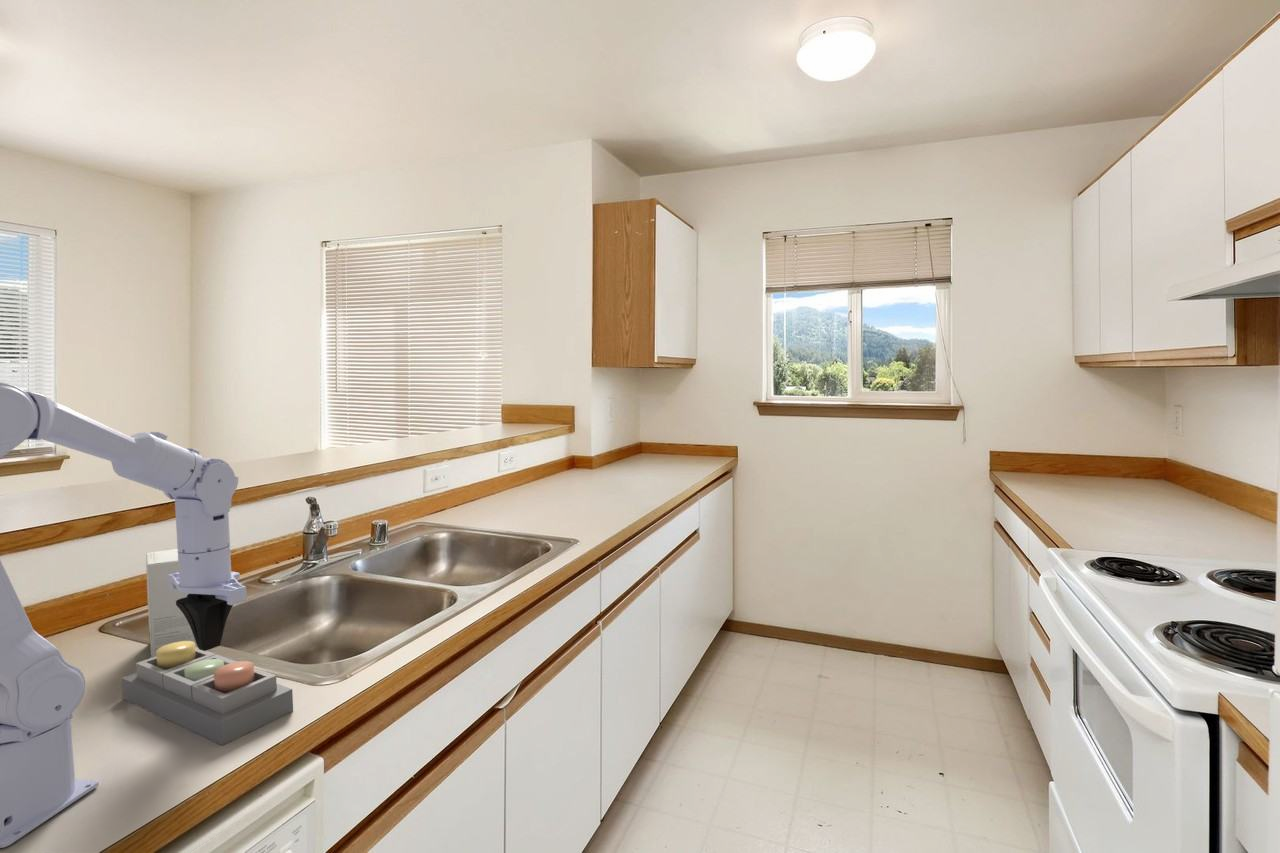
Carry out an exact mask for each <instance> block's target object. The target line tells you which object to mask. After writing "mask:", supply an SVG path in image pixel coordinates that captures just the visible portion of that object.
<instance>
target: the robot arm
mask: <svg viewBox="0 0 1280 853" xmlns="http://www.w3.org/2000/svg"><path fill="white" fill-rule="evenodd" d="M168 437H169V436H168V435H167V434H165V433H163V432H160V431H150V432H146V431H145V432H144V431H142V432H138V433H134V434H132V435H131V434H130V435H127V434H124V433H123V432H121V431H118V430H116V429H114V428H111V427H110V426H107V425H105V424H103V423H101V422H99V421H97V420H95V419H93V418H91V417H88V416H86V415H84V414H82V413H80V412H77V411H75V410H73V409H71V408H70V407H67V406H64V405H62V404H60V403H58V402H56V401H55V400H52V399H50V398H49V397H47V396H46V395H44V394H41V393H36V392H32V391H25V390H24V389H22V388H20V387H18V386H16V385H14V384H11V383H7V382H2V381H0V459H1V458H2V457H5V456H6V455H7V454H8V453H10V452H12V450H14V449H15V448H17V447H19V446H20V445H21V444H22V443H24V442H25V441H26V440H28V441H29V440H33V441H38V440H39V441H40V440H42V441H46V442H49V443H53V444H55V445H58V446H62V447H66V448H69V449H71V450H75V451H78V452H81V453H85V454H87V455H89V456H94V457H97V458H100V459H103V460H106V461H109V462H110V463H111V467H112V470H113V472H114V473H115V474H116V476H119V477H121V478H124V479H127V480H129V481H132V482H135V483H137V484H141V485H144V486H147V487H150V488H152V489H155V490H159V491H161V492H163V494H164V495H165V496H166V497H167V498H168V499H169V500H174V510H175V527H176V528H175V529H176V530H175V531H176V545H177V548H176V549H178V567H179V572H178V573H173V574H169V575H168V582H169V588H170V589H177V590H178V591H179V592H181V593H186V594H189V595H187V597H185V598H181V599H179V600H177V601H176V606H177V607H178V608H179V609H180V610H181V611H182V613H183V614H184V616H185V617H186V619H187V621H188V623H189V625H190V627H191V630H192V633H193V635H194V638H195V641H196V644H197V646H198V648H199V649H200V650H202V651H209V650H212V649H215V648H217V647H220V646H221V643H222V640H223V634H224V631H225V626H226V623H227V620H228V617H229V615H230V613H231V610H232V608H233V606H235V605H237V604H240V603H244V602H246V601H248V597H247V593H248V592H247V586H246V585H242V584H241V583H240V582H239V581H238V579H240V578H241V574H240V572H238V571H237V572H236V571H232V560H231V558H232V557H231V540H230V538H231V537H230V520H229V518H230V517H229V515H230V514H229V512H230V511H231V510H230V509H231V508H232V499H233V495H235V494H234V493H235V492H236V490H237V488H238V485H239V476H236V474H235V472H234V469H233V468H232V467H231V466H230V464H229V463H228V462H227V461H225V460H224V459H220V458H207V457H205V458H204V457H203V456H202V455H201V454H200V453H201V452H200V450H199V449H196V448H193V447H187V448H185V447H182V446H180V445H177V444H176V443H173V442H172V441H171V442H170V441H168V440H167V439H168ZM10 579H11V578H10V577H9V575H8V573H7V571H6V569H5V567H4V564H3V562H2V560H1V559H0V849H1V848H3V849H4V848H6V847H9V846H11V845H12V844H14V843H15V842H16V841H18V840H19V839H21V838H22V837H24V836H26V835H27V834H29V832H31V831H34V829H36V828H37V827H39V826H41V825H42V824H43V823H45V822H46V821H48V820H49V819H50V818H53V817H54V816H55V815H57V814H58V813H59V812H61V811H63V810H64V809H66V808H68V807H69V806H70V805H72V804H73V803H75V802H76V801H78V800H79V799H80V798H82V797H83V796H85V795H86V794H88V793H90V792H91V791H92V790H94V789H95V788H97V787H98V786H99V780H97V779H96V780H95V779H93V780H92V779H79V778H76V777H75V773H76V772H75V762H74V748H73V736H72V735H73V734H72V721H71V720H72V719H73V713H74V712H75V711H76V709H78V707H79V705H80V704H81V702H82V700H83V697H84V695H85V691H86V685H87V684H86V677H85V675H84V673H83V672H82V671H81V669H79V668H78V667H77V666H74V665H73V664H71V663H68V662H67V661H66V660H65V659H64V658H63V655H62V654H61V651H60V649H59V648H58V647H56V646H55V644H53V643H51V642H50V641H48V639H46V638H45V637H44V636H42V635H41V634H39V633H38V632H37V631H36V630H35V629H34V627H33V626H32V623H31V622H30V618H29V617H28V614H27V613H26V611H25V608H24V606H23V605H22V603H21V600H20V598H19V596H18V594H17V592H16V590H15V588H14V585H13V583H12V581H11V580H10Z"/></svg>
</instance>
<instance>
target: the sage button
mask: <svg viewBox="0 0 1280 853" xmlns="http://www.w3.org/2000/svg"><path fill="white" fill-rule="evenodd" d="M221 666H224V661H223V660H220V659H209V660H204V661H200V662H196V663H194V664H192V665H190V666H188V667H187V668H185V670H184V672H185V678H187V679H189V680H192V681H197V680H200V679H202V678H205V677H207V676H210V675H212V674H214V671H215V670H216V669H218V668H219V667H221Z"/></svg>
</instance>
